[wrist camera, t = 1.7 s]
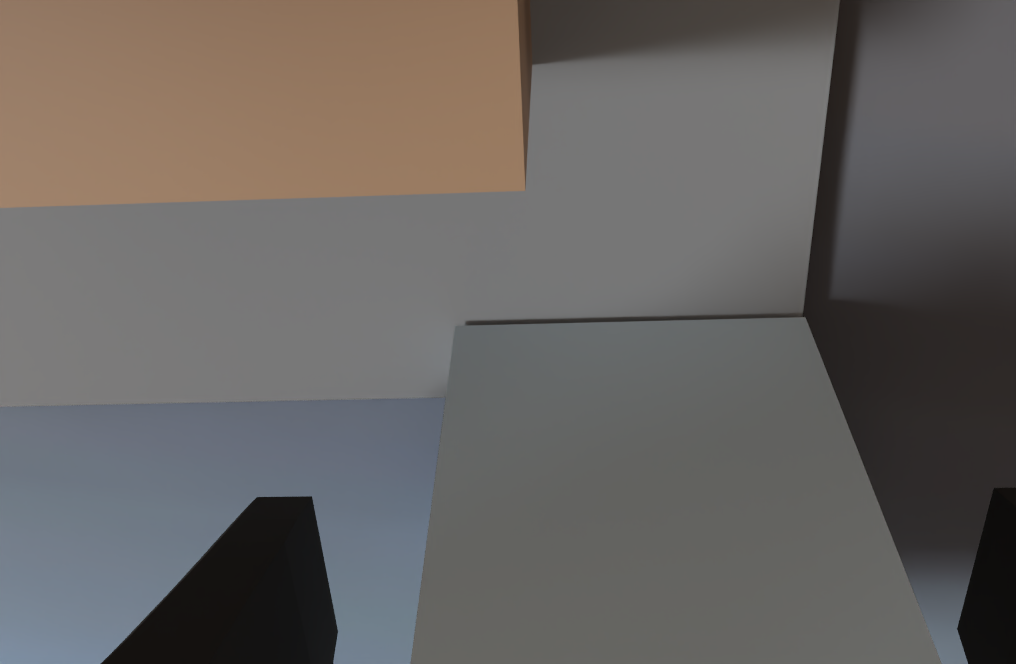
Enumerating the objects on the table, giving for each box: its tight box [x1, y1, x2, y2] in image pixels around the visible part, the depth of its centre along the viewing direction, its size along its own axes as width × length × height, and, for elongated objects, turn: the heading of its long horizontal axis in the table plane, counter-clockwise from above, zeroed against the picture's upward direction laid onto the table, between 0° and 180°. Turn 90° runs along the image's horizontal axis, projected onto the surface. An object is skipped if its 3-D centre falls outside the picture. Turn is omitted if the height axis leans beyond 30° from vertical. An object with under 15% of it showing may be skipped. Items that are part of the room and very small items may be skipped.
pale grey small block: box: [411, 317, 942, 664], centre depth 10 cm, size 4×4×5 cm
